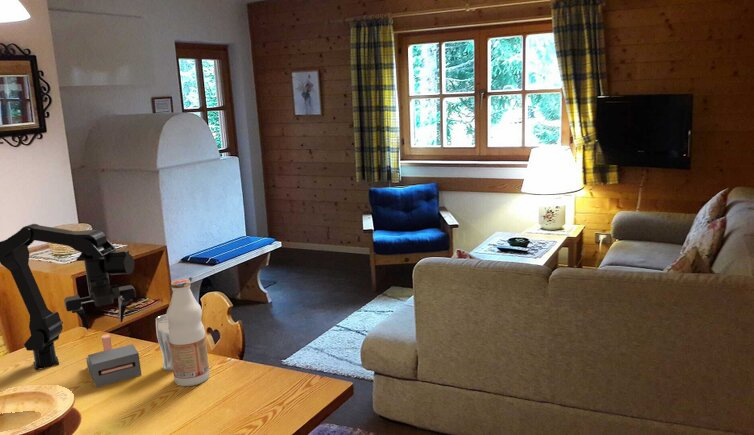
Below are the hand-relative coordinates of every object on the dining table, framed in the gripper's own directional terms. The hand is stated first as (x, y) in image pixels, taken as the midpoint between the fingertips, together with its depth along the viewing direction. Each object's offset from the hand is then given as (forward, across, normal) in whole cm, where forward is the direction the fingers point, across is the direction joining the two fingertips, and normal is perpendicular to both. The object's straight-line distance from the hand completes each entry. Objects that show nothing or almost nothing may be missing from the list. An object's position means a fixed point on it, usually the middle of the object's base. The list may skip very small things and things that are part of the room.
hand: (104, 325), depth 182 cm
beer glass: (+12, +15, -15) cm, 24 cm away
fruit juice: (+12, +17, -27) cm, 34 cm away
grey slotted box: (+12, 0, -7) cm, 14 cm away
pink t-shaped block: (+9, 0, -6) cm, 11 cm away
